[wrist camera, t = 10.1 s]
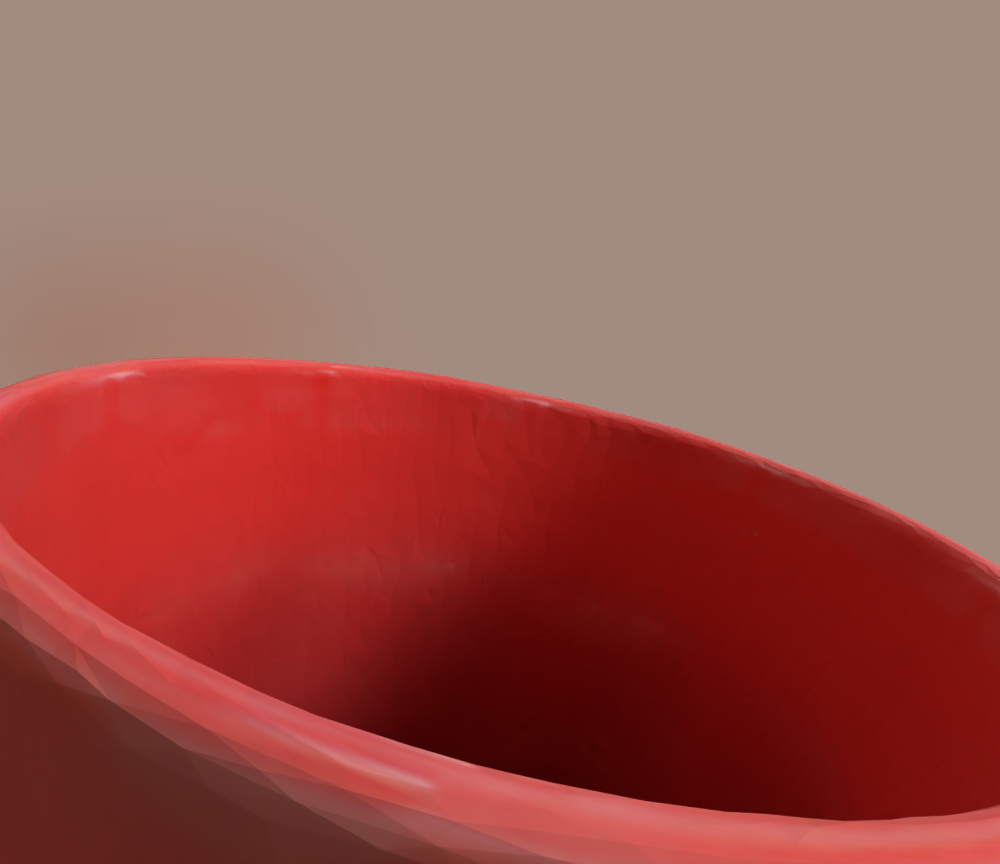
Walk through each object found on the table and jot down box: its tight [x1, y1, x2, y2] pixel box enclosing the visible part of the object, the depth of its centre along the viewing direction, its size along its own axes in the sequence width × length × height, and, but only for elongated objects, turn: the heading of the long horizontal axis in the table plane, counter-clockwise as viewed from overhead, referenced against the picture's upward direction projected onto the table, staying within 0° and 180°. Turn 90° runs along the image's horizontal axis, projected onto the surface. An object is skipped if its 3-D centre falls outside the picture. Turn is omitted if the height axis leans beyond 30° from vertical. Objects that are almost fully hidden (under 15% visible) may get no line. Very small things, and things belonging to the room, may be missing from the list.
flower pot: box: [0, 357, 1000, 864], centre depth 9 cm, size 11×11×10 cm
